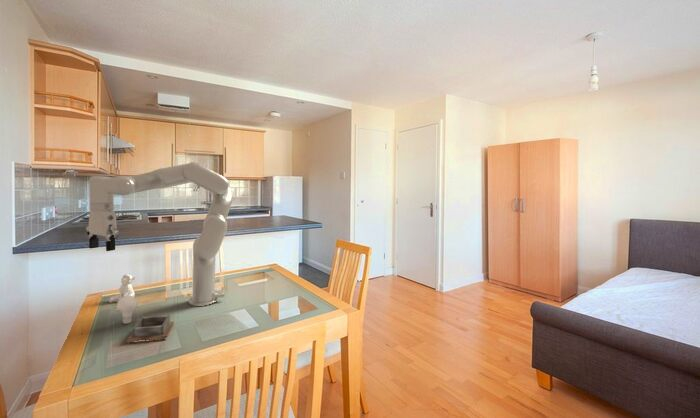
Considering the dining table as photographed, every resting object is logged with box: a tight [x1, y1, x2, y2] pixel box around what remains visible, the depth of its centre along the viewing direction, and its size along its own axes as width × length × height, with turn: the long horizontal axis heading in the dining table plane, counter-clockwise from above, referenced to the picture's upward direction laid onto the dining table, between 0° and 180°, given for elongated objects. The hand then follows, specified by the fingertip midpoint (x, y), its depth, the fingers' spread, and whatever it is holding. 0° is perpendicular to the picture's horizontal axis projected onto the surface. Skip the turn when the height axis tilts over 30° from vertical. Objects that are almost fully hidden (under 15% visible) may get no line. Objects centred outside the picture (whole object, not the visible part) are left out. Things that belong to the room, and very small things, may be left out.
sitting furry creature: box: [108, 274, 136, 304], centre depth 144 cm, size 10×9×12 cm
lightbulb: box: [116, 296, 138, 325], centre depth 121 cm, size 6×6×11 cm
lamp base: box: [126, 315, 175, 344], centre depth 115 cm, size 12×12×4 cm
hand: (102, 249), depth 126 cm, fingers open, 9 cm apart
